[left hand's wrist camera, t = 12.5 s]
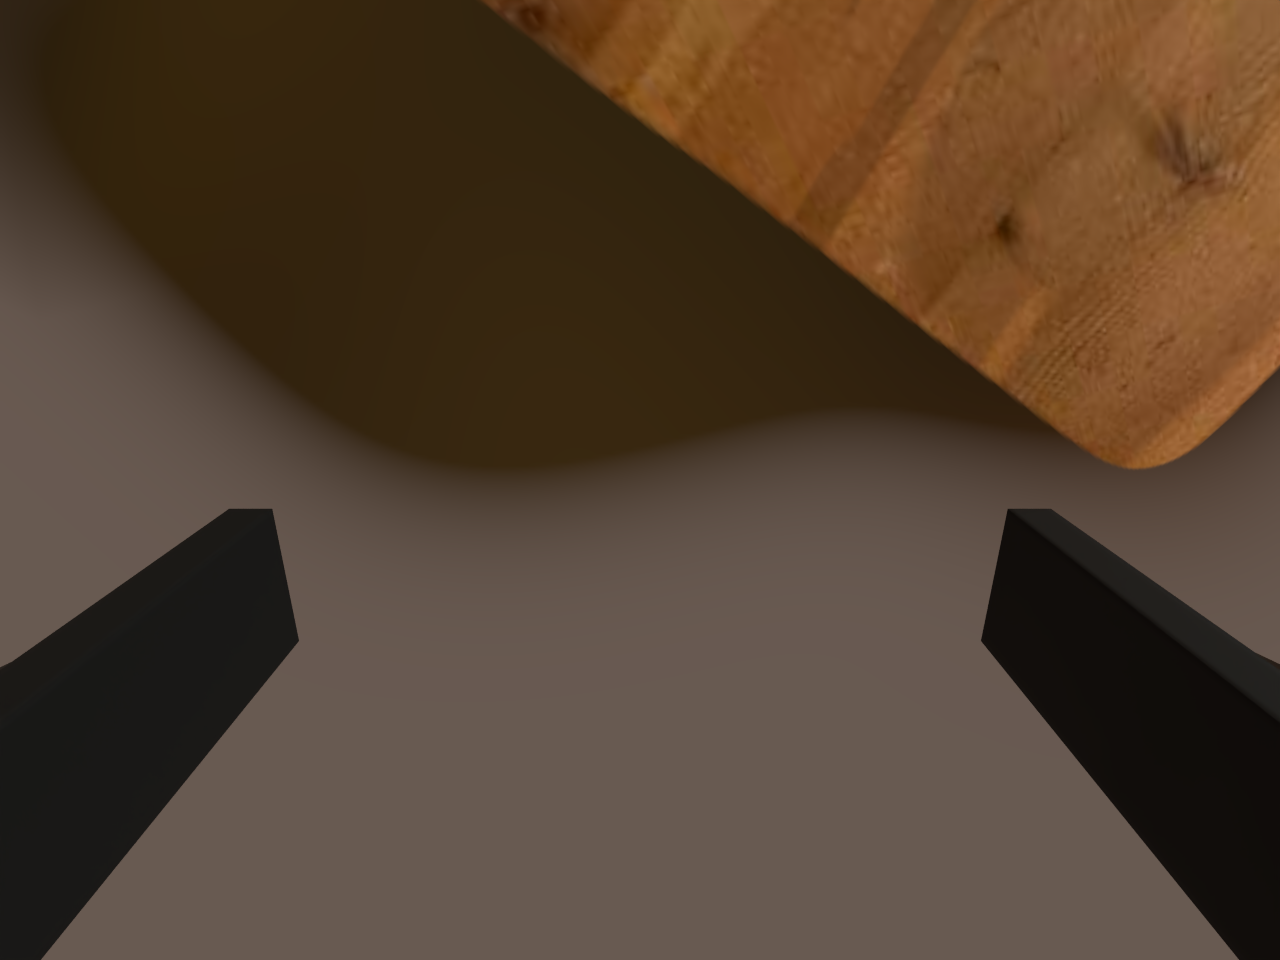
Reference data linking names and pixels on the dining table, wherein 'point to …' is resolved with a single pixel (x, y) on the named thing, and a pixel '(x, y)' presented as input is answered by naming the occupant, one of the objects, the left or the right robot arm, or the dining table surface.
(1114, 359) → the dining table surface
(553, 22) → the dining table surface
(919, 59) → the dining table surface
